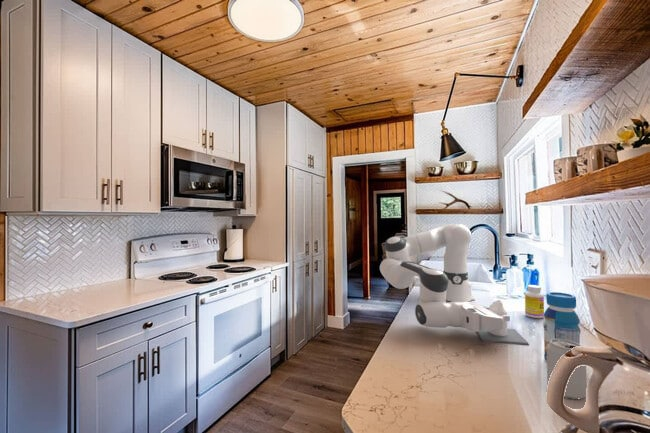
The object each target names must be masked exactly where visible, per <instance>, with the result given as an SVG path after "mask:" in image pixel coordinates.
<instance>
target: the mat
mask: <svg viewBox="0 0 650 433" xmlns="http://www.w3.org/2000/svg"><path fill="white" fill-rule="evenodd" d="M476 334H478V337H479V338H480V339H481V341H482V342H492V343H500V344H501V343H502V344H503V343H504V344H514V345H525V346H526V345H527V346H529V345H530V344H529V342H528V341H527V340H526V339H525V338H524V337H523V336H522V335H521V334H520V333H519V332H518V331H517V330H516V329H515V328H507V335H506V336H497V335H493V334H491V333H489V330H480V329H479V332H476Z"/></svg>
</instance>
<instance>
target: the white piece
mask: <svg viewBox="0 0 650 433" xmlns="http://www.w3.org/2000/svg"><path fill="white" fill-rule="evenodd" d="M488 307H489V310H490V311H492V312H493V313H495V314H497V315H499V316H502V315H508V314H507V311H506V310H505V308H504V306H503V301H502V300H501V299H498V300H495V301H494V302H492V303H491V304H490V305H489V306H488ZM507 329H508V321H505V322H504V328H503V329H500V330H489V333H491V334H493V335H497V336H506V335H507Z"/></svg>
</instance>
